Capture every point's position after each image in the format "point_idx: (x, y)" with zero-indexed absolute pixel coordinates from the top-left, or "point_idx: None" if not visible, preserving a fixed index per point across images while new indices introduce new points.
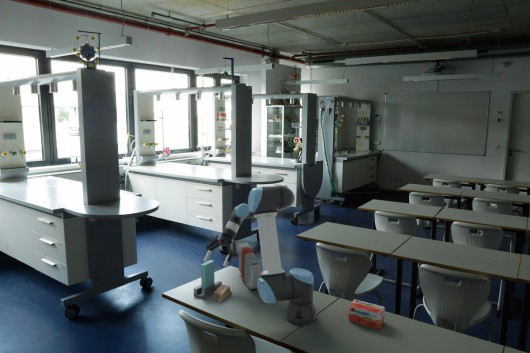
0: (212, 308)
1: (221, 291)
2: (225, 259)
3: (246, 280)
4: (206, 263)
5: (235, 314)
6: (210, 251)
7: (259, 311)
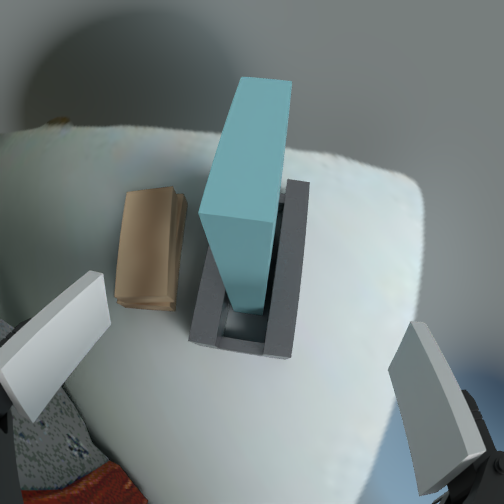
0: (161, 150)
1: (137, 212)
2: (53, 315)
3: (64, 416)
4: (253, 111)
5: (74, 157)
6: (442, 469)
7: (11, 209)
